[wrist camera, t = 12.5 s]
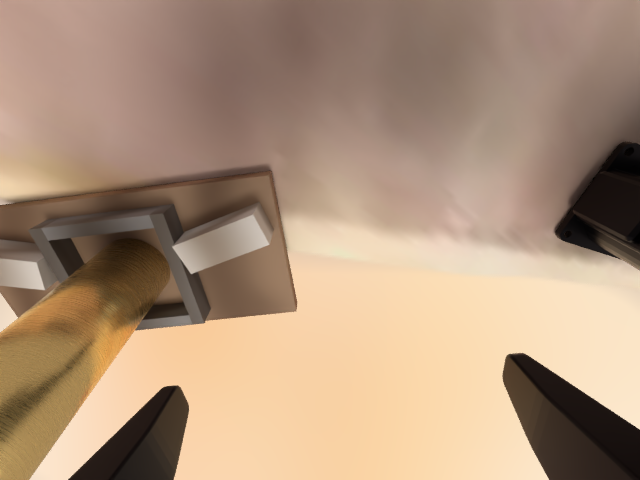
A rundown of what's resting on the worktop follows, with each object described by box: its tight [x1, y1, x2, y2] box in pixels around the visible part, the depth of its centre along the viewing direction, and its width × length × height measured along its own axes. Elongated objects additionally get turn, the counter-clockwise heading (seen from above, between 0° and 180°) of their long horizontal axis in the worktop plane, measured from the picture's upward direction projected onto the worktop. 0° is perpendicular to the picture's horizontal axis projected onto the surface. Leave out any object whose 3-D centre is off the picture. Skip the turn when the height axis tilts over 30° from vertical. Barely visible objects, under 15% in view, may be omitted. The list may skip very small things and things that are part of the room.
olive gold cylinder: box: [0, 238, 170, 480], centre depth 16 cm, size 4×4×12 cm
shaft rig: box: [0, 171, 297, 330], centre depth 21 cm, size 20×10×3 cm, turn 97°
